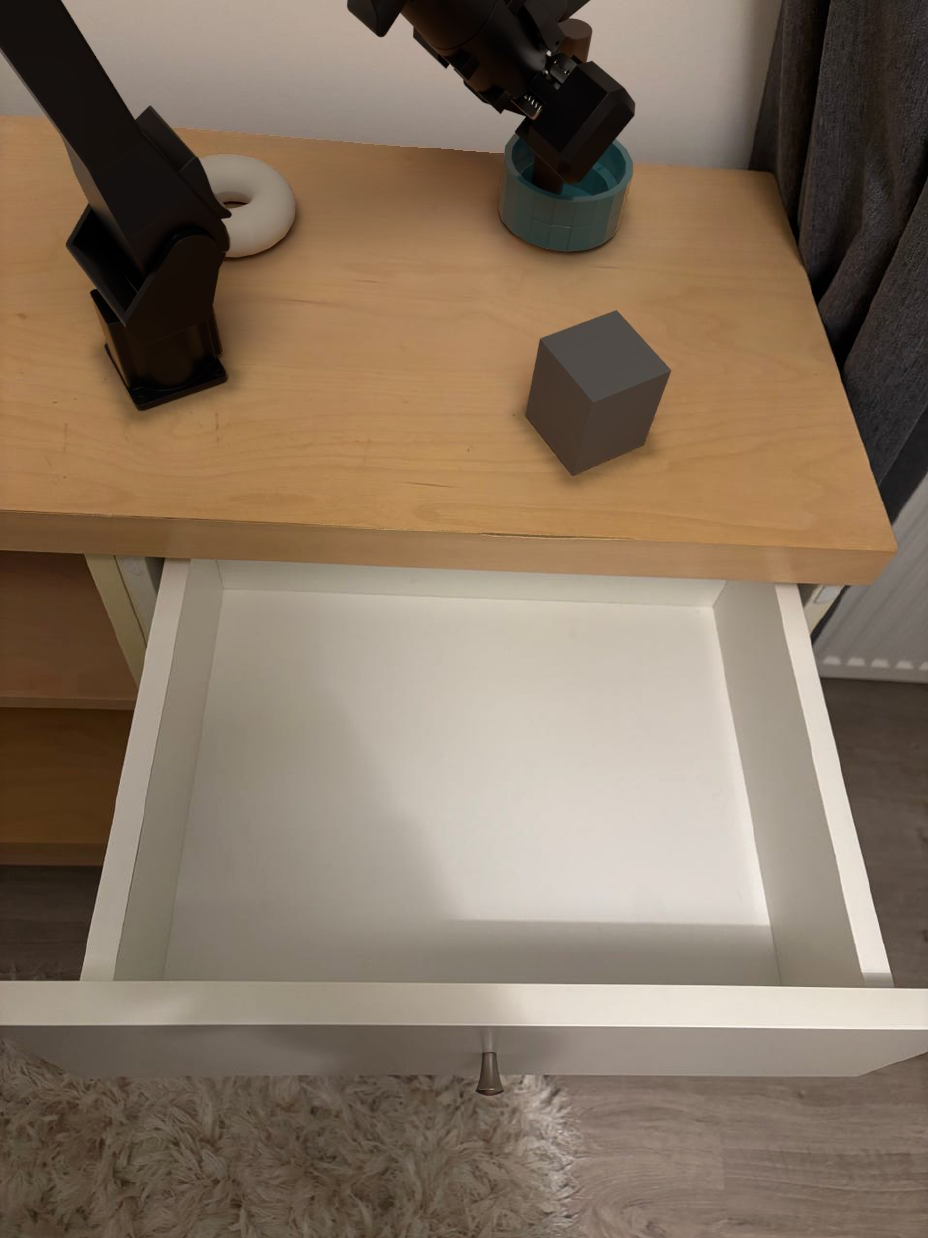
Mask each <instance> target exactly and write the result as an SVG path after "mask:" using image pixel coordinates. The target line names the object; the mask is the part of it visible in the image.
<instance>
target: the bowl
mask: <svg viewBox="0 0 928 1238" xmlns="http://www.w3.org/2000/svg"><path fill="white" fill-rule="evenodd" d="M534 157H535V152H534V151H533V150H532V149H531V148H530V147H529V146H528V145H527V144H526V143H525V142H524V141H523V140H522V139H521V138H520V137H519V136H518V135H517V134H516V133H515V132H514V133H513V134H512V135H511V136H510V138H509V139H508V141H507V142H506V143H505V146H504V150H503V160H502V168H501V177H500V183H499V184H500V185H499V193H498V201H497V210H498V212H499V216H500V219H501V222H502V223H503V224H505V226H506V227H507V228H508V229H509V230H510V232H511V233H512V234H514V235H515V236H517V237H518V238H519V239H521V240H523V241H525V242H527V243H528V244H531V245H534V246H536V247H540V248H543V249H546V250H552V251H560V252H567V253H568V252H578V251H588V250H591V249H593V248H597V247H599V246H602V245H603V244H604V243H606V242H607V241H609V240H610V239H611V238H613V237H614V236H615V235H616V234H617V231H618V230H619V228H620V226H621V223H622V219H623V216H624V212H625V207H626V203H627V201H628V196H629V192H630V188H631V185H632V180H633V176H634V161H633V159H632V157H631V155H630V153H629V151H628V149H627V148H626V147H625V146H624V145H623V144H622V143H621V142H620V141H619V140H618V139H617V138H616V139H615V140H614V141H613V143H612V144H611V145H610V146H609V148H608V149H607V150H606V151H605V152H604V154H603V155H602V156H601V157H600V159H599V160H598V161H597V162H596V164H595V165H594V166H593V167H592V168H591V170H590V171H589V172H588V173H587V175H586V176H585V177H584V178H583V179H582V181H581V182H580V183H576V184H572V185H568V184H567V183H566V182H565V181H564V185H563V191H562V193H561V194H560V195H558V194H554V193H552V192H549V191H546V190H543V189H540V188H538V187H537V186H535V185H533V184H532V183H531V177H532V170H533V164H534Z"/></svg>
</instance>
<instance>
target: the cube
mask: <svg viewBox="0 0 928 1238" xmlns="http://www.w3.org/2000/svg"><path fill="white" fill-rule="evenodd" d="M671 373H672V369H671V368H670V367H669V366H668V364H666V362H664V360H663V359H662V358H661V357H660V356H659V355H658V353H657V352H656V351H655V350H654V349H653V348H652V347H651V346H650V345H649V344H648V342H646V340H645V339H644V338H643V337H642V336H641V335H640V334H639V333H638V332H637V331H636V329H635V328H634V327H633V326H632V325H631V324H630V323H629V322H628V320H627V319H625V317H624V316H623V315H622V314H621V313H620V312H619V310H617V309H615V310H613V311H610V312H608V313H605V314H601V315H599V316H597V317H594V318H591V319H589V320H586V321H583V322H580V323H578V324H575V325H572V326H570V327H567V328H565V329H562V330H559V331H557V332H554V333H551V334H548V335H545V336H543V337H539V341H538V346H537V351H536V355H535V361H534V366H533V372H532V378H531V382H530V388H529V393H528V398H527V403H526V409H525V413H524V415H525V417H526V418H527V420H528V421H529V422H530V424H531V425H532V426H533V428H534V429H535V430H536V431H537V433H538V434H539V435H540V437H542V439H543V441H544V442H545V443H546V444H547V446H548V447H549V448H550V449H551V450H552V452H553V453H554V454H555V456H556V457H557V458H558V459H559V461H560V462H561V463H562V464H563V466H564V467H565V468H566V470H568V472H569V473H570V475H571V476H575V475H578V474H580V473H582V472H585V471H587V470H590V469H592V468H594V467H596V466H599V465H601V464H603V463H605V462H608V461H611V460H613V459H615V458H617V457H619V456H622V455H624V454H626V453H628V452H631V451H633V450H636V449H639V448H640V447H642V446H644V445H645V443H646V441H647V438H648V436H649V433H650V430H651V427H652V424H653V421H654V419H655V417H656V413H657V411H658V408H659V406H660V403H661V400H662V398H663V394H664V392H665V390H666V386H667V384H668V381H669V379H670V376H671Z"/></svg>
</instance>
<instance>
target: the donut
mask: <svg viewBox="0 0 928 1238" xmlns="http://www.w3.org/2000/svg"><path fill="white" fill-rule="evenodd" d="M198 158H199V157H198ZM199 160H200V162H201V164H202V166H203V168H204V170H205V172H206V174H207V177H208V180H209V183H210V186H211V189H212V191H213V192H214V193H215V195H216V196H217V197H218V198H219V199H220V200H221V201H222V203H227V202H241V203H244V204H243V205H241V206H238V207H232V208H228V209H229V210H230V212H231V213H232V216H231V217H230V218H226V219H221V220H222V221H223V223H224V224H225V225H226V228H227V231H228V233H229V236H230V246H231V247H230V249H229V251H227V252H226V255H225V258H241V257H247V256H253V255H256V254H258V253H261V252H264V251H266V250H268V249H270V248H271V247H273V246H275V245H276V244H277V243H278V242H280V241H281V240H282V239H284V238H285V237H286V235H287V233H288V232H289V230H290V229H291V227H292V225H293V224H294V221H295V216H296V213H295V212H296V203H297V200H296V197H295V194H294V192H293V189H292V186H291V184H290V182H289V181H288V179H287V178H286V177H285V176H284V175H283V174H282V173H281V172H280V171H279V170H278V169H277V168H276V167H274V166H273V165H270V164H269V163H267V162H265V161H263V160H261V159H259V158H257V157H252V156H249V155H245V154H241V153H239V154H238V153H219V154H212V155H210V154H209V155H205V156H201V157H200V158H199Z"/></svg>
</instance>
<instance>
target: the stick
mask: <svg viewBox="0 0 928 1238" xmlns="http://www.w3.org/2000/svg"><path fill="white" fill-rule="evenodd" d="M557 24H558V26H559V27H560V28H561V30H562V31H563V32H564V34H565V35H566V38H565V39H564V40H563V42H562V43H561V44H560V46H559V47H558V48H557V50H556V51H555V52H554V53H551V52H550V54H549V56H552V55H553V54H555V53H557V52H563V53H565V54H566V55H567V56H568V57H569V58H571V57H572V56H573V55H575V56H576V57H577V58H579V59H580V60H581V61H582V62H583V63H586V62H588V58H589V52H590V47H591V43H592V37H593V32H594V31H593V28H592V26H591V24H590V23H588V22H586V21H585V20H583V19H579V18H573V17H570V18H568V19H567V20H565V21H563V22H560V23H557ZM546 73H547V74H548V75H550V74H549V73H548V72H546ZM531 183H532V184H533V185H535V186H537V187H538V188H540V189H543V190H546V191H549V192H552V193H554V194H558V195H560V194H561V193H562V191H563V185H564V180H563V179H562V178H561V177H560V176H559V175H558V174H557V173H556V172H555V171H553V170H552V169H551V168H550V167H549V166H548V165H547V164H546V163H545V162H544V161H543V160H542V159H541V158H540V157H539V156H538V155H537V154H536V153H535V157H534V164H533V170H532V177H531Z"/></svg>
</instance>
